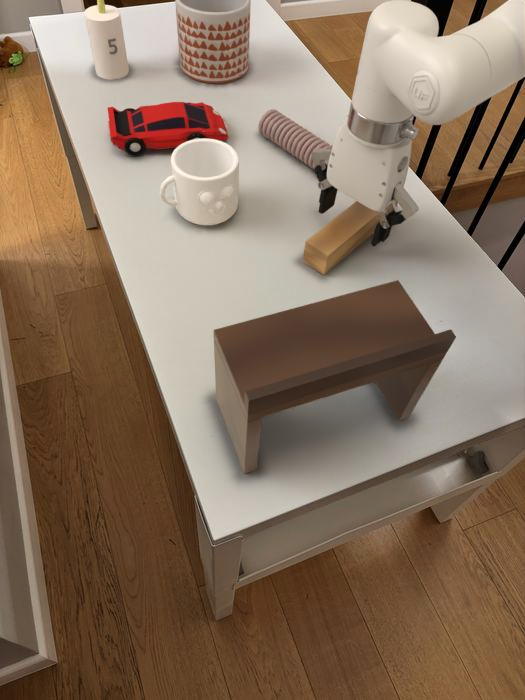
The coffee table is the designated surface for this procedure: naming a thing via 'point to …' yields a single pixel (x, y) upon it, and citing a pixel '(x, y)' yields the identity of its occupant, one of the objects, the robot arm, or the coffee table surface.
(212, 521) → the coffee table surface
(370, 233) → the stick
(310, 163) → the coil
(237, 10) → the planter
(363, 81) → the robot arm
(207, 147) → the mug
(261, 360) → the shelf
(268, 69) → the coffee table surface
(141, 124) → the toy car
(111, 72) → the candle
